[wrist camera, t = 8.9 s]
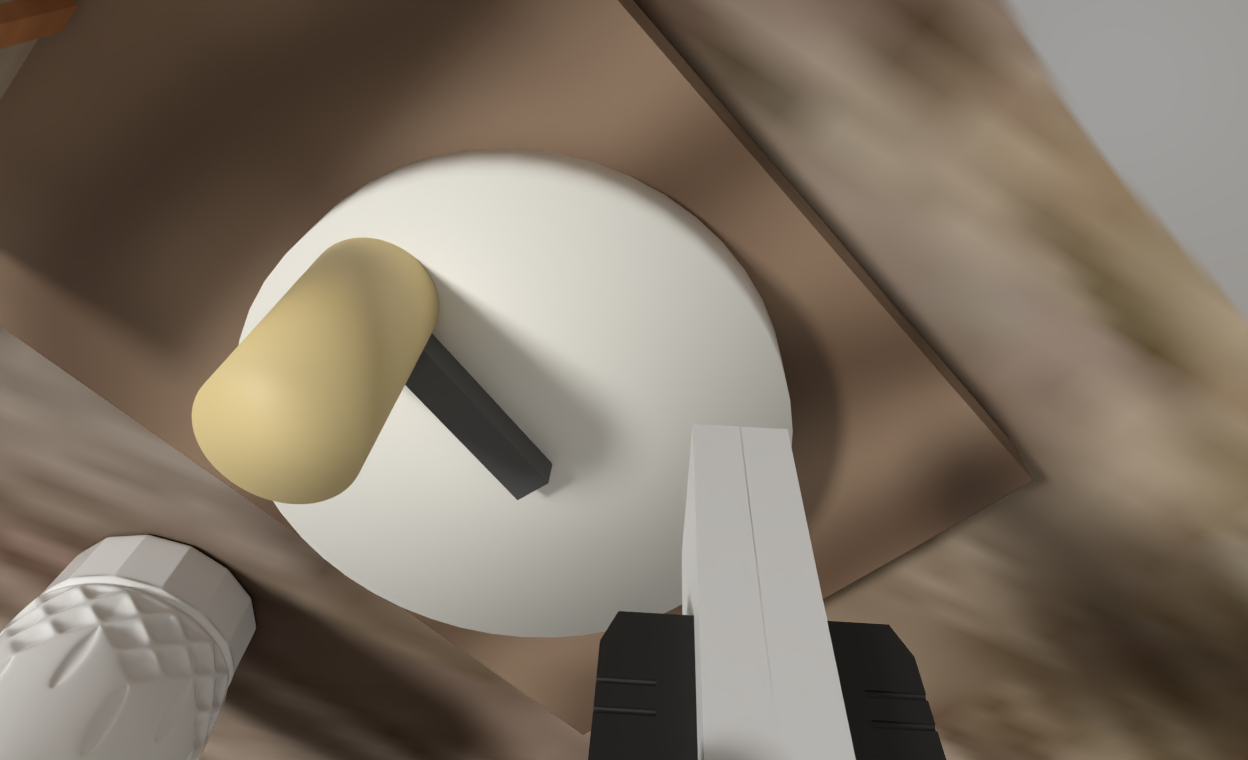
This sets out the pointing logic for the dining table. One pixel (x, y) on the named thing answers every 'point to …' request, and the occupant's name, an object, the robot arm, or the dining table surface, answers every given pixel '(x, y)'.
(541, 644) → the stand
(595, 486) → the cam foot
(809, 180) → the dining table surface
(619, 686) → the robot arm
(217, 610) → the white cup
